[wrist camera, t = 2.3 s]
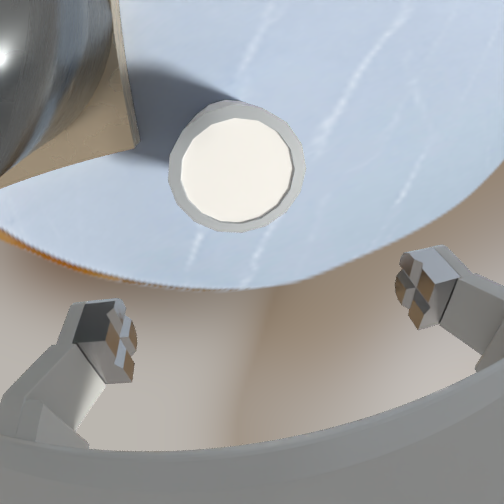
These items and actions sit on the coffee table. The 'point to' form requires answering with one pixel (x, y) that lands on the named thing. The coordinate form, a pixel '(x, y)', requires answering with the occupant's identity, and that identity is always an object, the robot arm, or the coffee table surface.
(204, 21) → the coffee table surface
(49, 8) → the green-rimmed dark canister
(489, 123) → the coffee table surface
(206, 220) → the white cylinder
